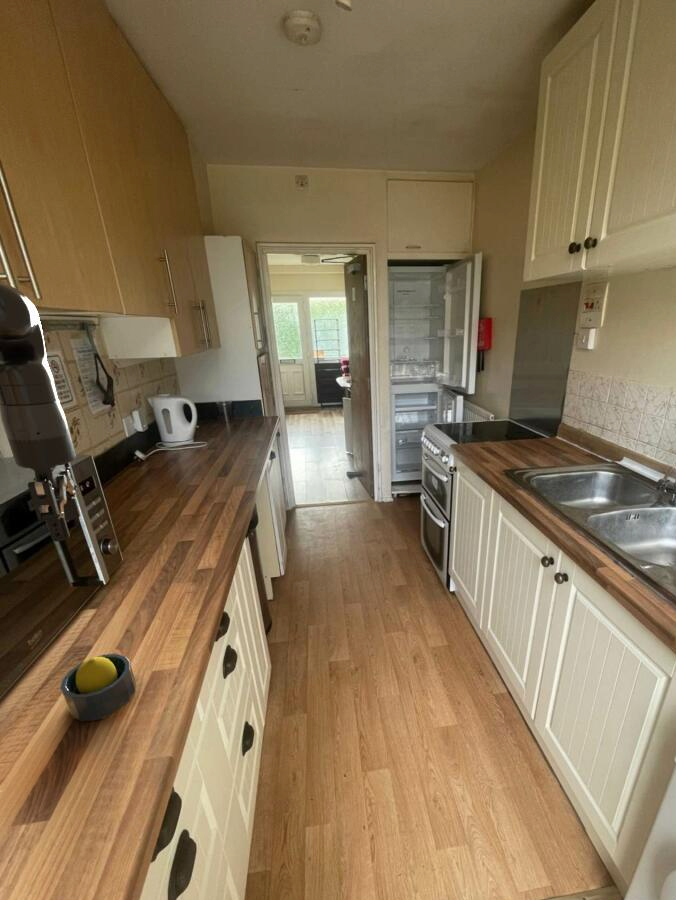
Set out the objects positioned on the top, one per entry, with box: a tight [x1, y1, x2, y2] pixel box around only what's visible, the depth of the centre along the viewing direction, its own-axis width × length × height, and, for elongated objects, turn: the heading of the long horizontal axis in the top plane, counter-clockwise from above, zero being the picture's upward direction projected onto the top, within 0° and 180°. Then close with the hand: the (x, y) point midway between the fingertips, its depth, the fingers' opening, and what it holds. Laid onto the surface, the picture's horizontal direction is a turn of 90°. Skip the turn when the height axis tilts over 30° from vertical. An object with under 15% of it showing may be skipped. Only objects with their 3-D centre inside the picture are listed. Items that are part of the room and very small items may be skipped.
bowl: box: [59, 653, 137, 722], centre depth 70 cm, size 9×9×6 cm
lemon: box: [76, 656, 118, 694], centre depth 69 cm, size 6×6×8 cm
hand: (67, 528), depth 71 cm, fingers open, 8 cm apart
